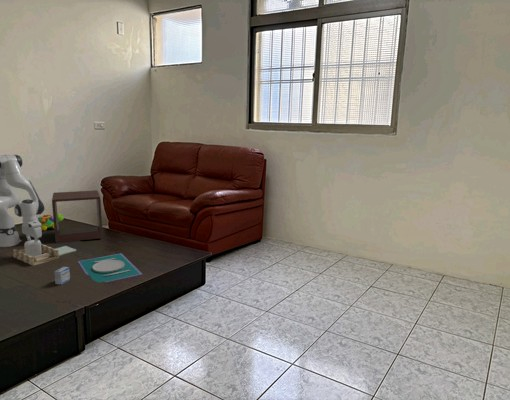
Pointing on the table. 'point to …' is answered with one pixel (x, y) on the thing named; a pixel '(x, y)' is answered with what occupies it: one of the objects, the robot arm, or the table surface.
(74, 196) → the storage cube
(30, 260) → the frame
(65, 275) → the medicine box
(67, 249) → the sage board
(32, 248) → the photo printer
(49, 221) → the turtle toy
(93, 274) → the place mat
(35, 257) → the birch offcut
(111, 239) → the table surface
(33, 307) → the table surface
